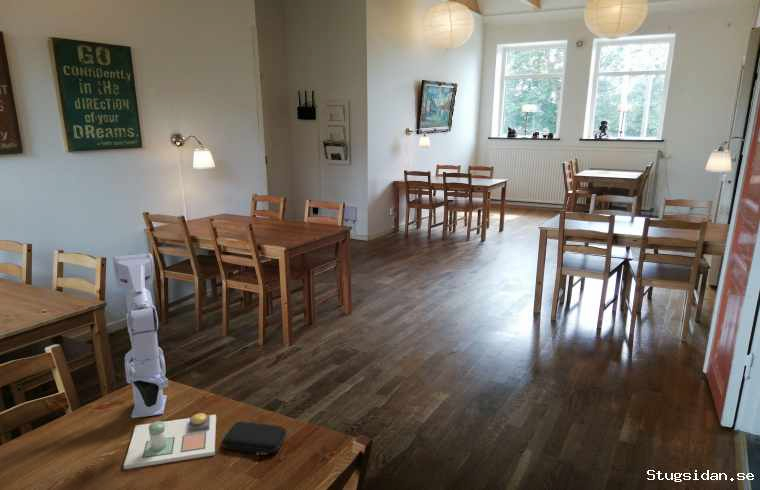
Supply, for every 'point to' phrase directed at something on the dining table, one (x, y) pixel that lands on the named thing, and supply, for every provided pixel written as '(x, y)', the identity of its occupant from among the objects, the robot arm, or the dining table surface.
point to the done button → (199, 419)
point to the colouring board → (173, 443)
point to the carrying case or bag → (254, 438)
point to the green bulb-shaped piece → (157, 436)
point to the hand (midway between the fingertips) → (150, 404)
